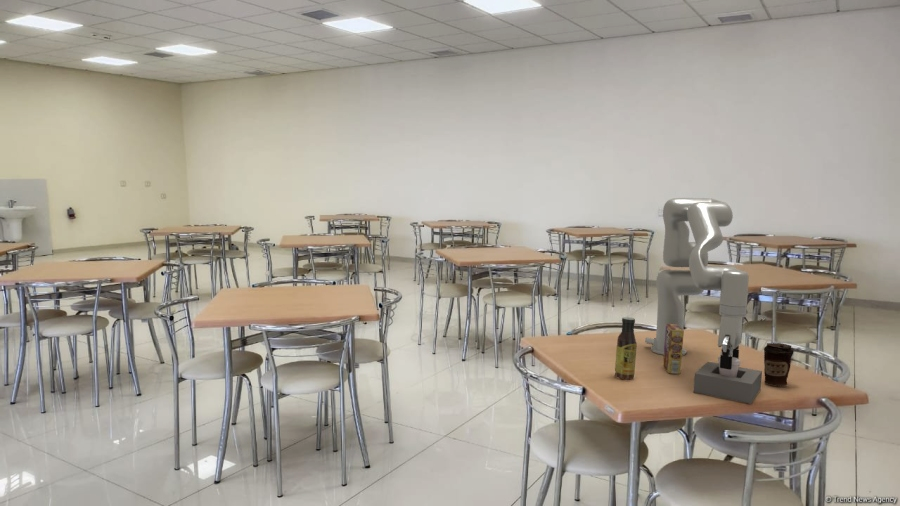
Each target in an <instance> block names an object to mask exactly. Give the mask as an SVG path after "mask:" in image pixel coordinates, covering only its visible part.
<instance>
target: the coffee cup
mask: <svg viewBox="0 0 900 506" xmlns="http://www.w3.org/2000/svg"><path fill="white" fill-rule="evenodd" d="M763 353H764V355H763V360H764V361H763V364H764V365H763V366H764V367H763V368H764V372H763V373H764V383H765V384H766V385H770V386H773V387H774V386H775V387H780V388H781V387H788V382H787V381H788V377H789V373H790V370H791V365H792V364H791V363H792V357H793V355H794V350H793V349H792V345H790V344H787V343H781V342H778V343H777V342H776V343H775V342H768V343H766V346H765V347H764V348H763Z"/></svg>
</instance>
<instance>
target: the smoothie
mask: <svg viewBox="0 0 900 506" xmlns="http://www.w3.org/2000/svg"><path fill="white" fill-rule="evenodd" d="M732 354H733V350H732ZM732 354H731V356H732ZM717 362H718V363H719V371H720V375H726V376H731V377H737V372H738V368H739V367H740V365H741V359H740V358H735V357H732V368H731V370H729V369H723V368H720V356H718V357H717Z"/></svg>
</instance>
